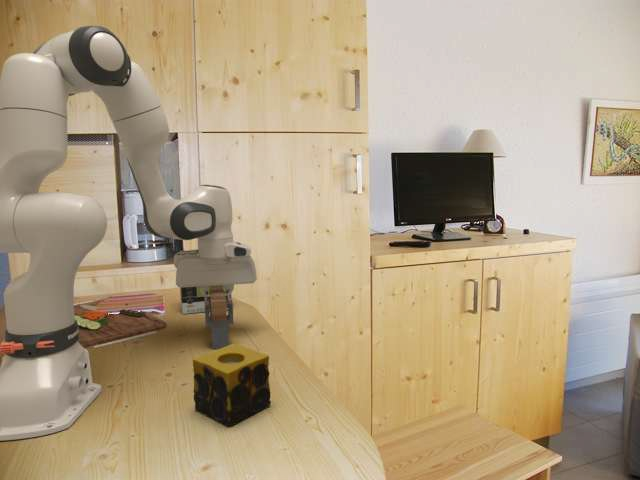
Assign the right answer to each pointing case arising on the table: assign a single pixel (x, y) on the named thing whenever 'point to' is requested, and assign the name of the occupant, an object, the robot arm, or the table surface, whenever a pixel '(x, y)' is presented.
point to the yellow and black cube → (231, 384)
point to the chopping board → (112, 325)
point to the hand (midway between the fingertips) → (217, 301)
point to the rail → (217, 303)
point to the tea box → (194, 299)
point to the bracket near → (219, 327)
